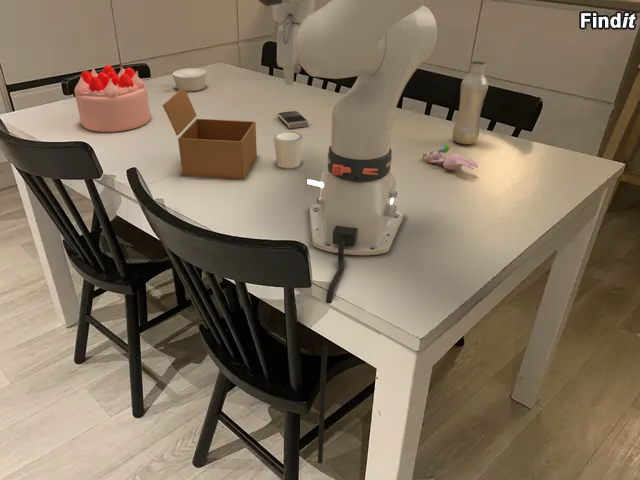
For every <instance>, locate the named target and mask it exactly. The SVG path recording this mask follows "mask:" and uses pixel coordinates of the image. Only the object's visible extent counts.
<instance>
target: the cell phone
mask: <svg viewBox="0 0 640 480" xmlns="http://www.w3.org/2000/svg"><path fill="white" fill-rule="evenodd" d="M277 117H278V119H279V120H280V121H281V122H282V123H283V124H284V125H285V126H286V127H287V128H288V129H291V130H292V129H297V128H306V127H308V125H309V120H307V119H306V118H305V116H303V115H302V114H301V113H299V111H296V110H292V111H283V112H278V113H277Z"/></svg>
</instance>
